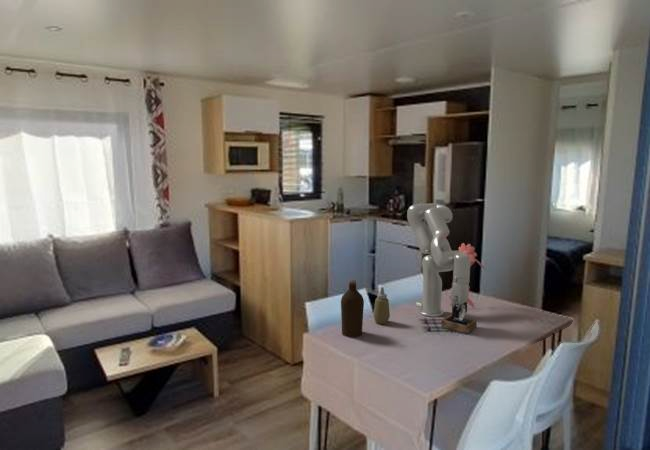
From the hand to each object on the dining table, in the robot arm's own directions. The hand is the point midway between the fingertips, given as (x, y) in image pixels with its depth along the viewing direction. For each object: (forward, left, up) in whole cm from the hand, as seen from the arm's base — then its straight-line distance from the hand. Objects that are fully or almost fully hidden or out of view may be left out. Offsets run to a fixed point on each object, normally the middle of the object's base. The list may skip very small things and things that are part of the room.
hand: (459, 314), depth 215 cm
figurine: (-12, +37, -7) cm, 40 cm away
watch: (0, 0, -6) cm, 6 cm away
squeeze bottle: (-33, -17, -7) cm, 38 cm away
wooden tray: (0, 0, -7) cm, 7 cm away
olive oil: (-36, -38, -7) cm, 53 cm away
